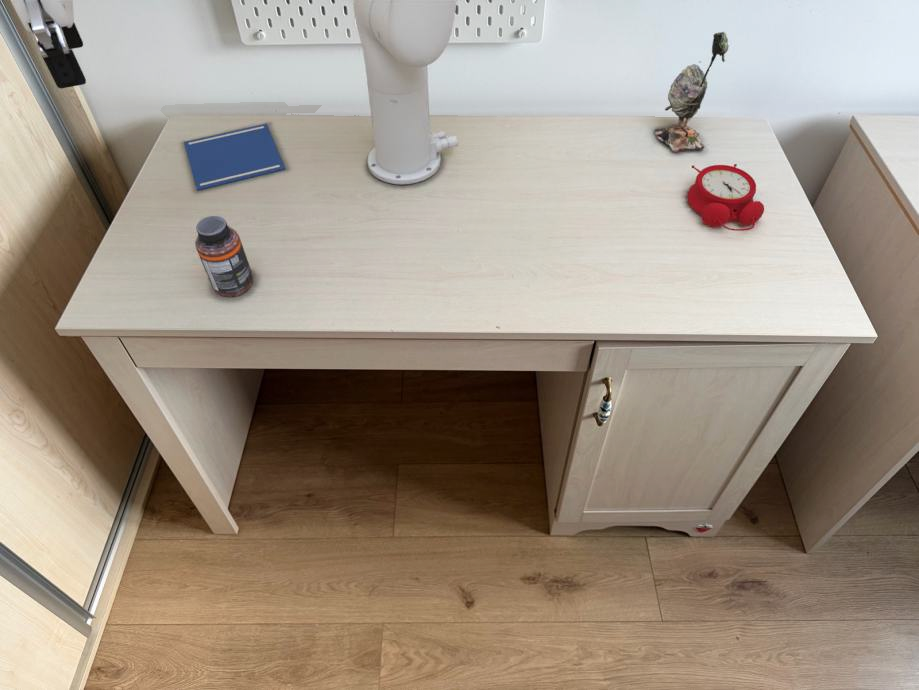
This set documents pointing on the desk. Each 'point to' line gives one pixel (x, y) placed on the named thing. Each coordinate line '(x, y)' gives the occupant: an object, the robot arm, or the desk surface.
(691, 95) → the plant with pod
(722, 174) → the alarm clock
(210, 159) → the napkin
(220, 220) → the supplement bottle
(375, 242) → the desk surface
